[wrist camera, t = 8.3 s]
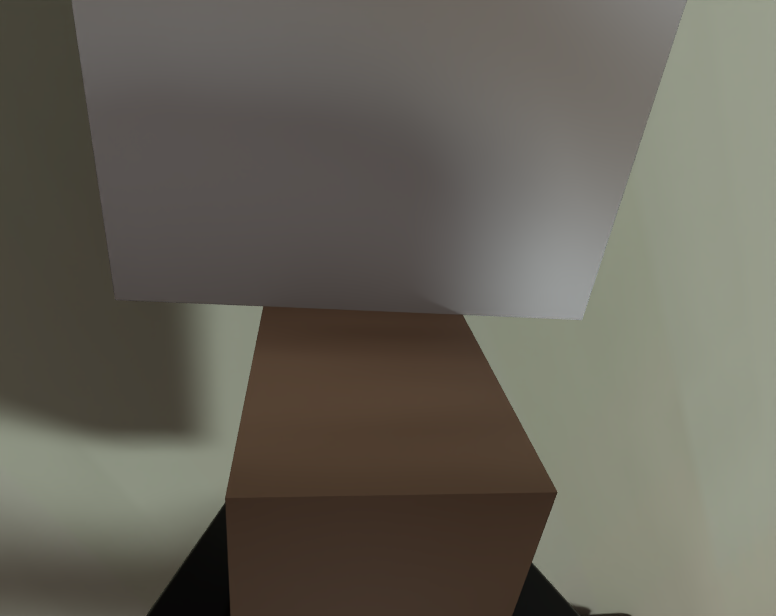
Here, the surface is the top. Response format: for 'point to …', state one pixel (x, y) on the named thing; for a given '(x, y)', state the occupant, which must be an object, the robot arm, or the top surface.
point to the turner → (371, 257)
